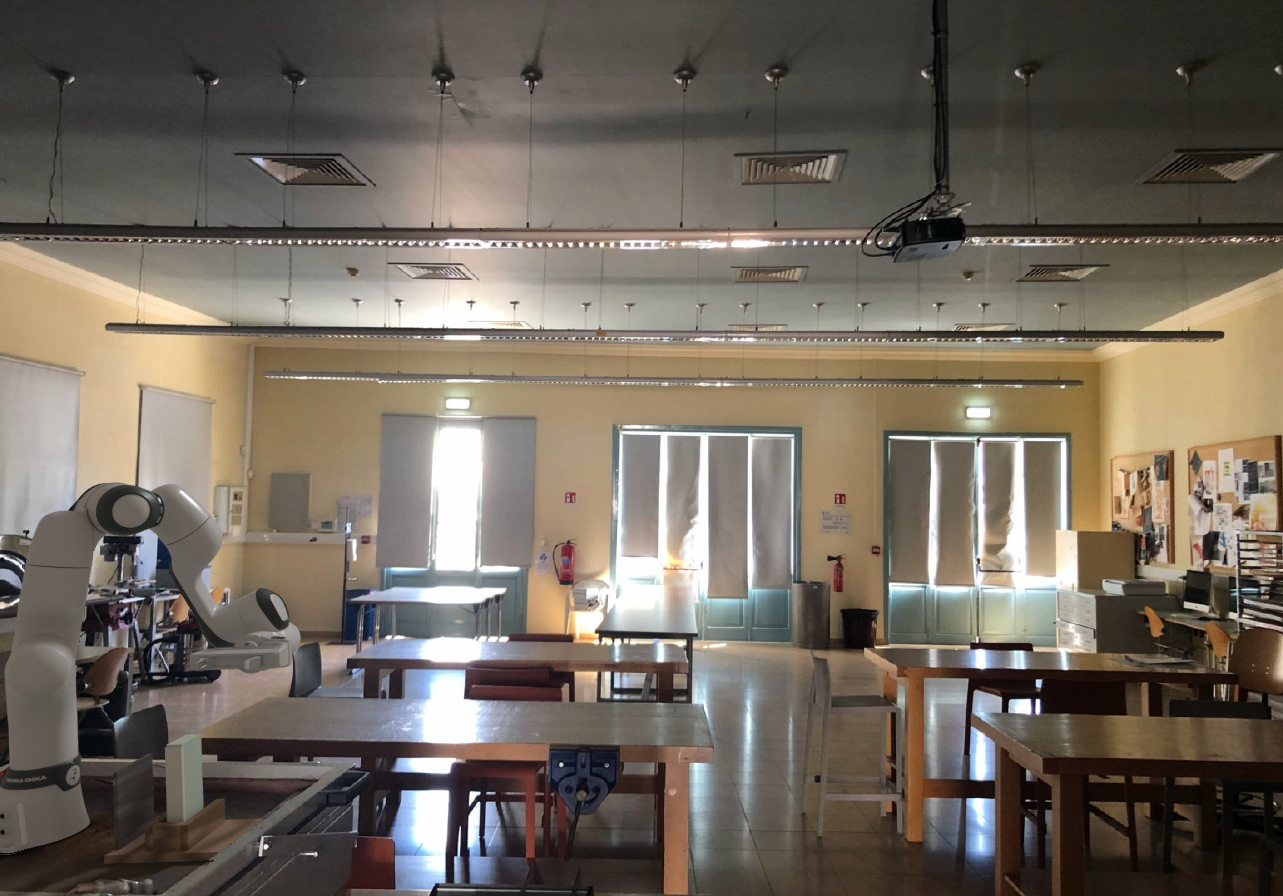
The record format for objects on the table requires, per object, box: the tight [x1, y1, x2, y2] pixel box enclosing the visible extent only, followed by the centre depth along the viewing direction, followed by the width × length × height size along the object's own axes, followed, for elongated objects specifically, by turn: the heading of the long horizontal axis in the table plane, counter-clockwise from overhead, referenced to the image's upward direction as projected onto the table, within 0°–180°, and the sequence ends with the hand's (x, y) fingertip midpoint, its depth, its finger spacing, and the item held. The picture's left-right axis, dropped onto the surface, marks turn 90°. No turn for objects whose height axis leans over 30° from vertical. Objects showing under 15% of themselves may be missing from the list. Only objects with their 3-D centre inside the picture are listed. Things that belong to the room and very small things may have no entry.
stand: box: [103, 753, 264, 865], centre depth 154 cm, size 22×14×16 cm, turn 87°
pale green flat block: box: [164, 733, 204, 822], centre depth 154 cm, size 3×6×18 cm, turn 177°
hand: (220, 666), depth 172 cm, fingers open, 8 cm apart
